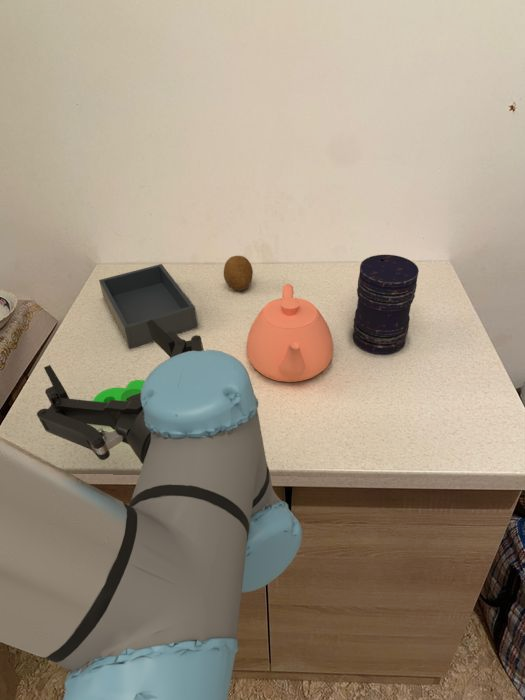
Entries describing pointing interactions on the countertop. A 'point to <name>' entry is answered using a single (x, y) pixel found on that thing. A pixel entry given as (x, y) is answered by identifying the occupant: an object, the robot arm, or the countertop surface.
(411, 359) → the countertop surface
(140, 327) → the dark grey open tray
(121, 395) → the mechanical part
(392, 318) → the dark blue cylinder
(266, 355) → the teapot
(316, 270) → the countertop surface
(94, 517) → the robot arm
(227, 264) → the fruit
